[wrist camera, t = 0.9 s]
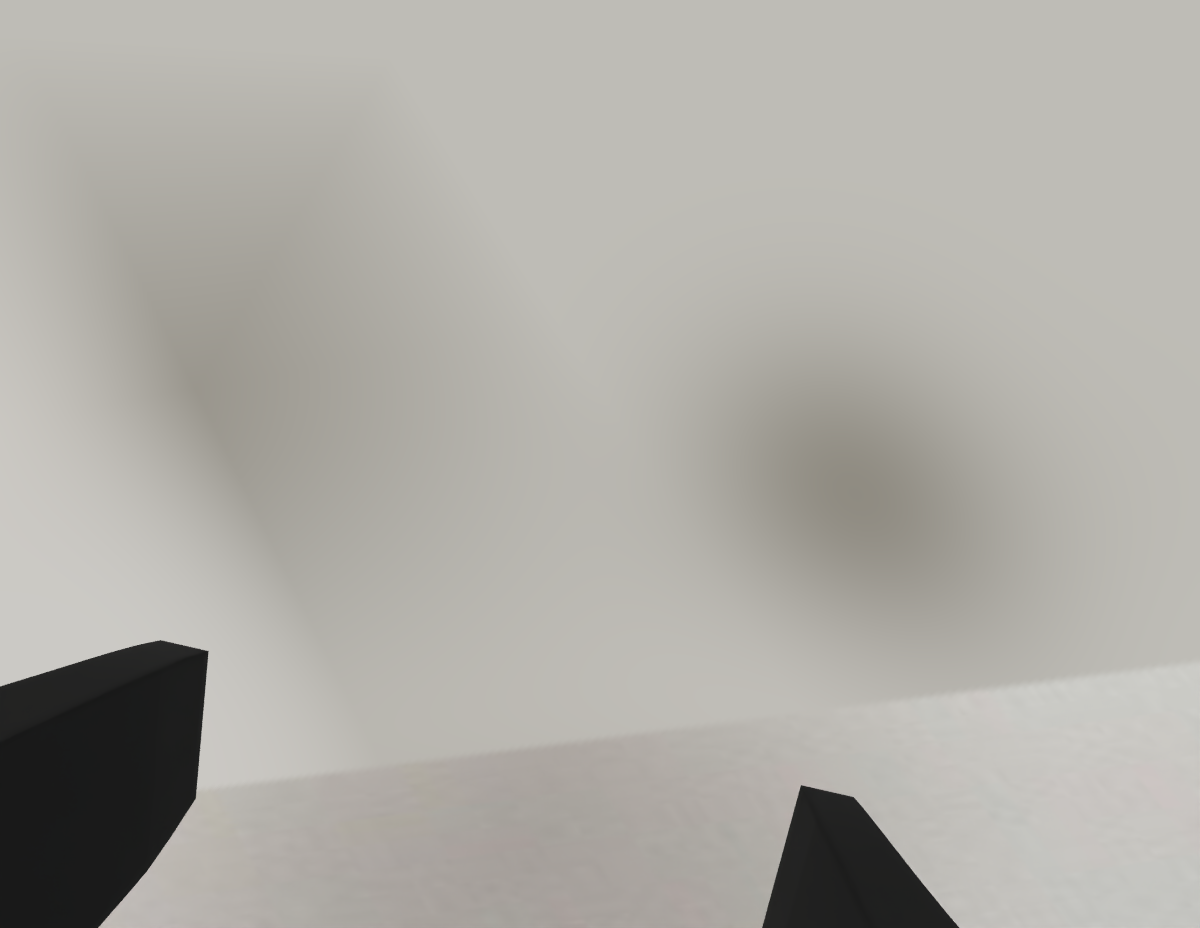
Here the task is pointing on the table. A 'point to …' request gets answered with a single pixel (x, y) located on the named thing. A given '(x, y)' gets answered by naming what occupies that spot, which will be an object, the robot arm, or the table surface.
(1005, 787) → the table surface
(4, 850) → the robot arm
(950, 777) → the table surface
